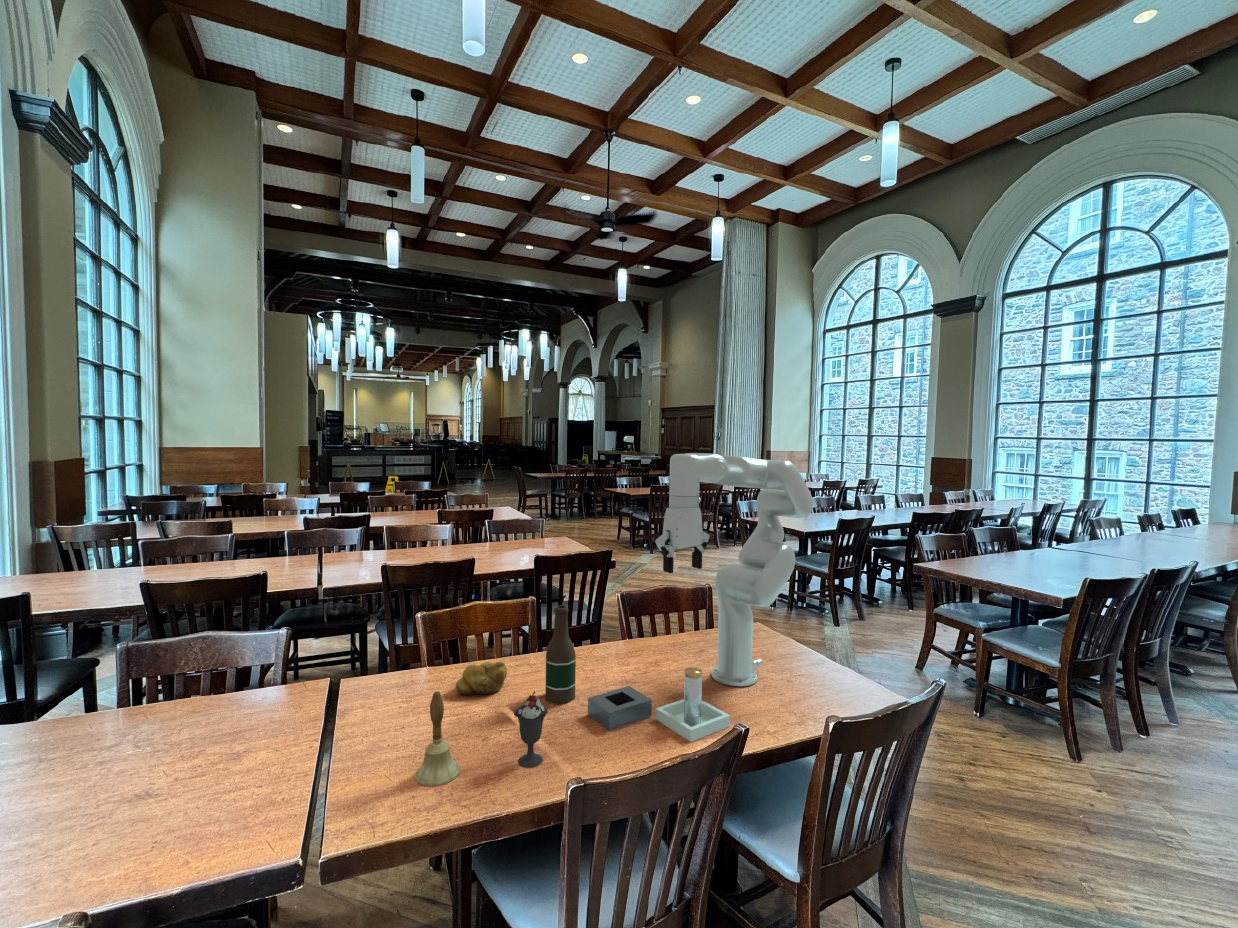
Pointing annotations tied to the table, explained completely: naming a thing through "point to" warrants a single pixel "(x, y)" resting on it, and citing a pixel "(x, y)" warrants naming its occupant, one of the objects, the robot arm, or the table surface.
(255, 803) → the table surface
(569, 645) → the beer bottle
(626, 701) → the block
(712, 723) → the tray
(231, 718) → the table surface
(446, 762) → the hand bell
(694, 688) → the pin
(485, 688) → the bread roll
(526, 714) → the sundae
